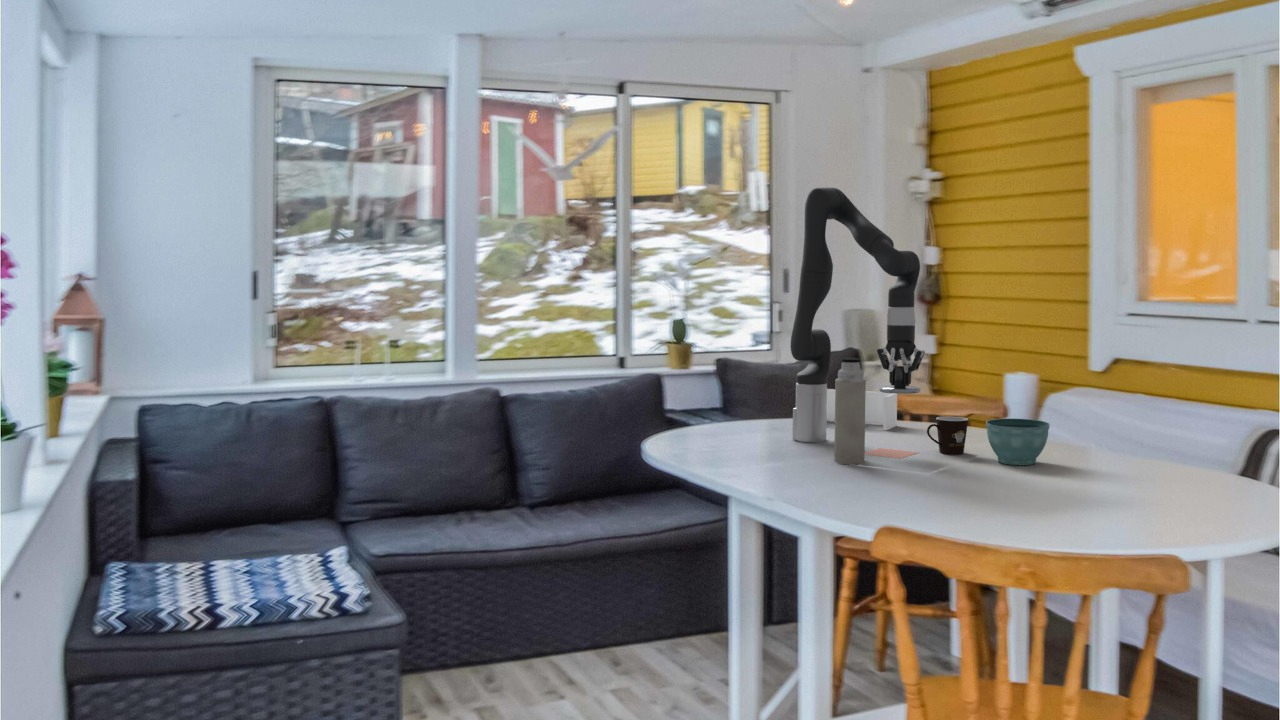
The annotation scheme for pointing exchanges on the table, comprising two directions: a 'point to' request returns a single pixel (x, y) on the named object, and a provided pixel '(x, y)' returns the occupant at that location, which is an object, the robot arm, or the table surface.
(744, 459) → the table surface
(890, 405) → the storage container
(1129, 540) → the table surface
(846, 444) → the thermos bottle
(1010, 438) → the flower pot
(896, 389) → the lid
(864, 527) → the table surface
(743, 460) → the table surface
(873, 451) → the mat
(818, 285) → the robot arm
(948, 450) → the coffee mug
